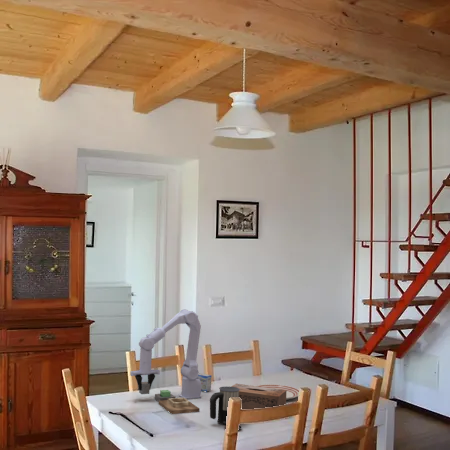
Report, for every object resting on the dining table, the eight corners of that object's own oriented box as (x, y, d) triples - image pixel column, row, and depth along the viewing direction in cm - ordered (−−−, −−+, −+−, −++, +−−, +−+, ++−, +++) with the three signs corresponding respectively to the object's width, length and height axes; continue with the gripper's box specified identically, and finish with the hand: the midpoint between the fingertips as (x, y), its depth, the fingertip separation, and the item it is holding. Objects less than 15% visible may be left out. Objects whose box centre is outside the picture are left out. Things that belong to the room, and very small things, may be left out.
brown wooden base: (185, 401, 286) (185, 394, 286) (199, 411, 270) (199, 404, 270) (158, 403, 280) (158, 396, 280) (170, 414, 264) (171, 406, 264)
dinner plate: (283, 406, 287) (283, 399, 287) (238, 396, 303) (238, 389, 303) (310, 396, 309) (310, 390, 309) (267, 387, 325) (267, 381, 325)
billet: (146, 391, 288) (147, 381, 288) (149, 393, 285) (149, 383, 285) (139, 392, 287) (139, 382, 287) (141, 394, 283) (141, 383, 283)
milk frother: (226, 418, 261) (227, 385, 262) (254, 426, 251) (255, 391, 252) (205, 424, 250) (207, 389, 251) (234, 433, 240) (235, 397, 241)
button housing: (169, 398, 292) (170, 393, 292) (175, 402, 285) (175, 396, 285) (154, 399, 289) (155, 394, 289) (159, 403, 282) (160, 398, 282)
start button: (167, 394, 290) (167, 389, 290) (170, 396, 286) (170, 391, 286) (160, 395, 288) (160, 390, 288) (162, 397, 284) (162, 392, 284)
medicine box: (194, 390, 310) (194, 374, 311) (198, 389, 314) (199, 372, 315) (207, 392, 307) (207, 376, 307) (211, 391, 311) (211, 374, 311)
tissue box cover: (285, 410, 279) (286, 389, 279) (278, 418, 265) (278, 396, 266) (235, 403, 288) (236, 383, 288) (225, 410, 274) (226, 389, 275)
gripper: (157, 359, 293) (155, 386, 292) (129, 361, 287) (127, 388, 286) (161, 362, 287) (160, 390, 286) (133, 363, 281) (131, 392, 280)
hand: (144, 389), depth 286 cm, fingers closed on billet, 4 cm apart
